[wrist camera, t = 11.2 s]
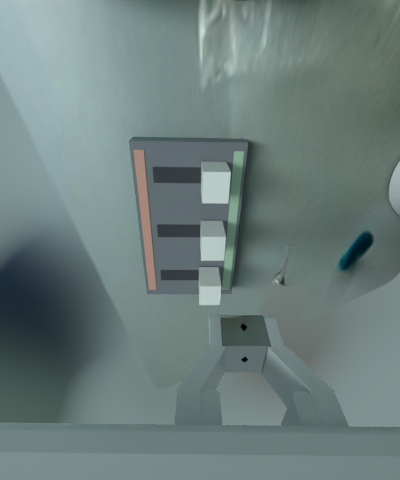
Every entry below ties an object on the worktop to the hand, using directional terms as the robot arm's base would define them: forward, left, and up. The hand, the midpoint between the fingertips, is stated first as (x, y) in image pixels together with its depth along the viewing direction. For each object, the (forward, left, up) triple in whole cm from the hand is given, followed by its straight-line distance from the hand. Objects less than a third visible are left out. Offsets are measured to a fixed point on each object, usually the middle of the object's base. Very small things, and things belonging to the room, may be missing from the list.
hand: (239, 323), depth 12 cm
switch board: (+3, +8, -26) cm, 27 cm away
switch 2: (0, +16, -23) cm, 28 cm away
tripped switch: (0, +8, -23) cm, 24 cm away
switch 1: (0, 0, -23) cm, 23 cm away
